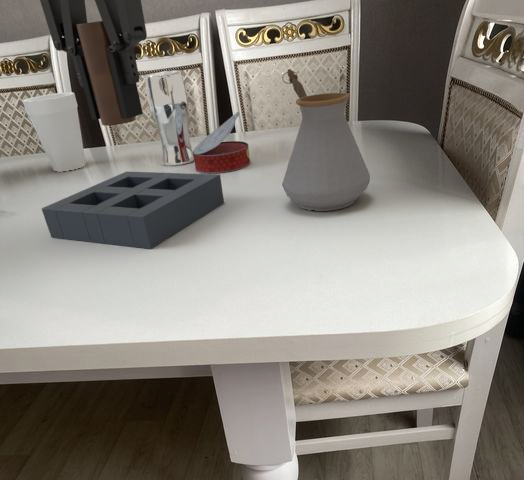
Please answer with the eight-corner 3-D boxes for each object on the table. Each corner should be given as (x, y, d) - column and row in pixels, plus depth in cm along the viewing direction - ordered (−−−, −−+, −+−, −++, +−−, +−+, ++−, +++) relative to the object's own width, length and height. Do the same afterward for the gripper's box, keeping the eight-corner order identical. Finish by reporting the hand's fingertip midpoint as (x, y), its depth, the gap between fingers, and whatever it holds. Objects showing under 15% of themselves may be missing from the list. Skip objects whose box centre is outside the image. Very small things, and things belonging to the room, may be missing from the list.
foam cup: (101, 159, 108) (82, 90, 101) (80, 172, 101) (59, 98, 94) (59, 162, 110) (38, 95, 103) (36, 175, 103) (12, 103, 96)
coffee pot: (384, 206, 67) (386, 74, 58) (296, 222, 65) (287, 89, 57) (330, 168, 84) (326, 63, 76) (260, 180, 83) (249, 74, 75)
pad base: (51, 237, 71) (41, 208, 68) (132, 197, 83) (126, 171, 81) (151, 249, 63) (143, 216, 61) (224, 202, 75) (220, 174, 73)
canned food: (239, 197, 92) (221, 152, 83) (192, 188, 96) (171, 144, 88) (266, 151, 96) (252, 104, 87) (220, 144, 100) (203, 98, 91)
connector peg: (94, 126, 61) (67, 25, 56) (117, 118, 64) (94, 22, 58) (120, 125, 59) (95, 21, 54) (142, 118, 62) (121, 18, 57)
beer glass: (174, 156, 104) (158, 71, 96) (204, 156, 101) (190, 68, 93) (153, 166, 99) (134, 77, 90) (184, 166, 96) (167, 74, 88)
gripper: (-41, -138, 50) (42, 125, 62) (91, -189, 42) (155, 122, 55) (21, -129, 55) (86, 112, 68) (149, -172, 47) (195, 108, 60)
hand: (117, 116), depth 61 cm, fingers closed on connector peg, 4 cm apart
